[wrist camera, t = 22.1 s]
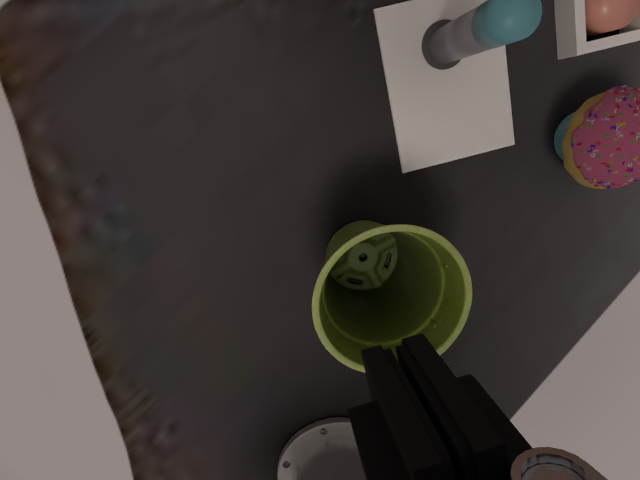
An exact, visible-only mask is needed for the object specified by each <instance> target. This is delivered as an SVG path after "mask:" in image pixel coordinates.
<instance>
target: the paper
mask: <svg viewBox="0 0 640 480" xmlns="http://www.w3.org/2000/svg"><path fill="white" fill-rule="evenodd" d="M485 1H487V0H410V1H406V2H402V3H398V4H393V5H389V6H385V7H381V8H376V9H374V10H373V12H374V17H375V23H376V28H377V34H378V40H379V45H380V51H381V57H382V62H383V68H384V74H385V79H386V85H387V91H388V96H389V102H390V108H391V113H392V119H393V124H394V130H395V136H396V141H397V147H398V153H399V158H400V164H401V170H402V173H406V172H410V171H414V170H418V169H422V168H426V167H430V166H434V165H437V164H441V163H445V162H449V161H453V160H457V159H461V158H465V157H468V156H472V155H476V154H480V153H484V152H488V151H492V150H496V149H499V148H503V147H507V146H511V145H515V143H514V132H513V122H512V111H511V101H510V91H509V80H508V70H507V59H506V49H505V45H504V46H501V47H498V48H494V49H490V50H487V51H484V52H481V53H478V54H475V55H472V56H469V57H466V58H463V59H460V60H457V61H454V62H451V63H448V64H441V63H438V62H436V61H435V60H434V59H433V58H432V57H431V55H430V53H429V47H428V46H429V40H430V37H431V35H432V34H433V32H434V31H435V30H437V29H438V28H440V27H442V26H443V25H445V24H447V23H449V22H451V21H452V20H454V19H456V18H458V17H460V16H462V15H463V14H465V13H467V12H469V11H471V10H472V9H474V8H476V7H478V6H480V5H481V4H482V3H484V2H485Z"/></svg>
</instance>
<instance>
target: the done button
mask: <svg viewBox="0 0 640 480" xmlns="http://www.w3.org/2000/svg"><path fill="white" fill-rule="evenodd" d="M639 10H640V0H585V20H586V35H590V36H593V35H598V34H602V33H606V32H610V31H613V30H617V29H620V28H623V27H625V26H627V25H628V24H629V23H631V22H632V21H633V20H634V18H635V17H636V16H637V14H638V12H639Z"/></svg>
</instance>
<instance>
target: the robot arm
mask: <svg viewBox="0 0 640 480" xmlns="http://www.w3.org/2000/svg"><path fill="white" fill-rule="evenodd" d="M396 352H397V357H398V361H397V359H396V357H395V355H394V353H393V352H392V350H391V348H388V349H383V347H382V346H381V345H378V346H374V347H370V348H367V349H363V350H361V355H362V360H363V364H364V368H365V373H366V377H367V381H368V385H369V390H370V394H371V398H372V402H371V403H367V404H364V405H360V406H357V407H353V408H350V409H347V410H348V415H349V418H343V417H336V418H327V419H323V420H319V421H316V422H314V423H312V424H309V425H307V426H306V427H304V428H303V429H301V430H299V431H298V432H297V433H296V434H295V435H294V436H292V437H291V438H290V440H289V441H288V442H287V443H286V445H285V446H284V448H283V450H282V452H281V454H280V456H279V460H278V464H277V477H278V480H607V479H606V478H605V477H604V476H602V475H601V474H600V473H599V472H598V471H597V470H595V469H594V468H593V467H592V466H590V465H589V464H588V463H587V462H585V461H584V460H582V459H581V458H579V457H578V456H576V455H574V454H572V453H569V452H567V451H564V450H561V449H556V448H551V447H538V448H532V447H531V446H530V445H529V443H528V442H527V441H526V440H525V439H524V437H523V436H522V435H521V434H520V433H519V431H518V430H517V429H516V428H515V427H514V425H513V424H512V423H511V422H510V420H509V419H508V418H507V417H506V415H505V414H504V413H503V412H502V411H501V409H500V408H499V407H498V406H497V404H496V403H495V402H494V401H493V400H492V398H491V397H490V396H489V395H488V394H487V392H486V391H485V390H484V389H483V387H482V386H481V385H480V384H479V383H478V381H477V380H476V379H475V378H474V377H473V376H472V375H470V374H468V375H465V376H461V377H458V378H456V377H455V375H454V374H453V373H452V371H451V370H450V369H449V367H448V366H447V365H446V363H445V362H444V361H443V359H442V358H441V357H440V355H439V354H438V353H437V351H436V350H435V349H434V347H433V346H432V345H431V343H430V342H429V341H428V339H427V338H426V337H425V335H424V334H423V333H421V334H417V335H413V336H410V337H406V338H403V339H402V345H399V346H396Z"/></svg>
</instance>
